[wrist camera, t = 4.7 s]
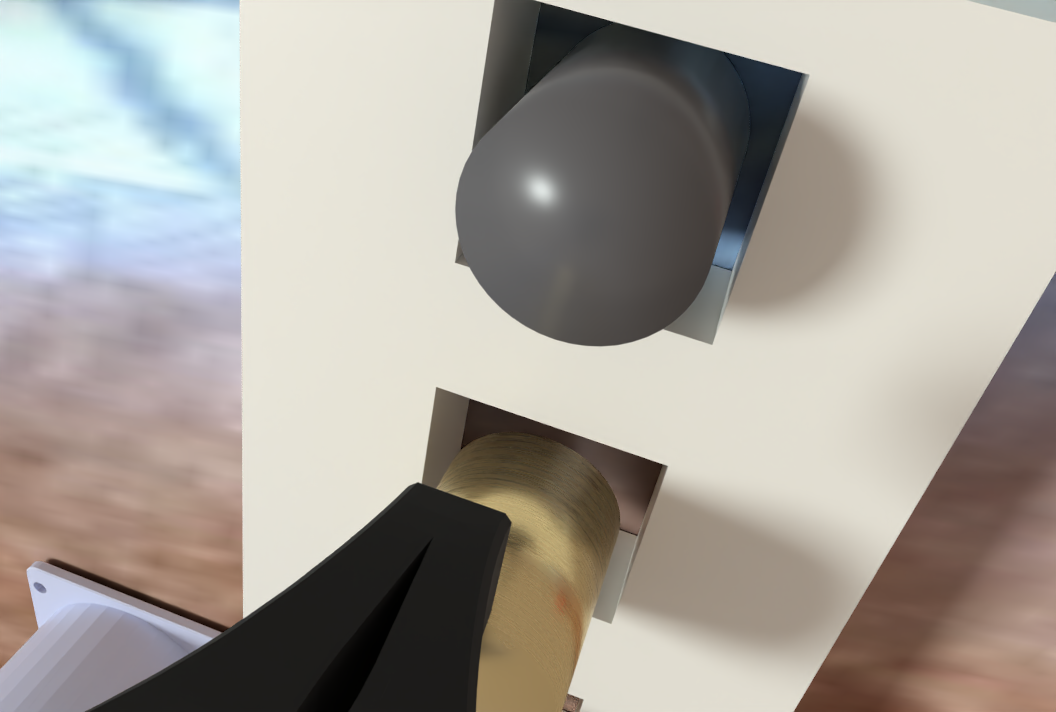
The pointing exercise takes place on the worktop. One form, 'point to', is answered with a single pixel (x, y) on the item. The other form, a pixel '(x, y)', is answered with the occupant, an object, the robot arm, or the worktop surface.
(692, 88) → the knob
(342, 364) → the housing
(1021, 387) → the worktop surface
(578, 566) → the knob middle
